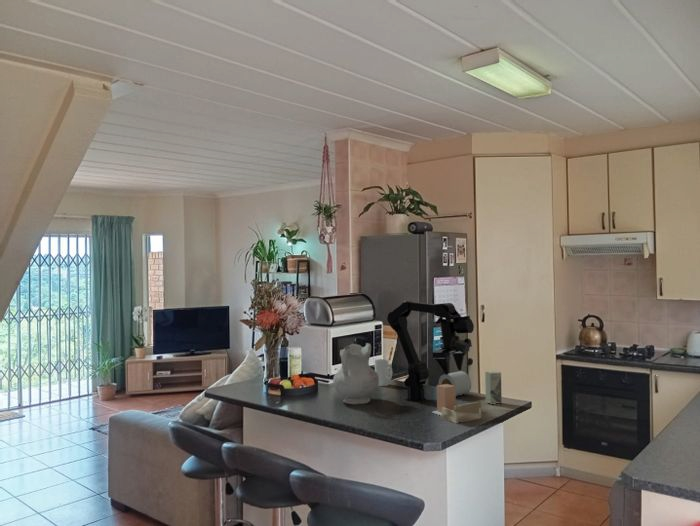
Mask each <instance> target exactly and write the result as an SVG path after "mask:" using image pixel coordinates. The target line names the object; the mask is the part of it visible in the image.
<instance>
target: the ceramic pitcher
mask: <svg viewBox="0 0 700 526" xmlns="http://www.w3.org/2000/svg"><path fill="white" fill-rule="evenodd" d="M371 354H372V345H371V343H370V342H369V343H368V342H365V346H361V344H356V343H351V344H349V345H346V346H345V347H344V348H343V349H340V350H339V356H340V359H341V367H340V369H339V370H337V372H336V373H335V374H334V375H333V378H332V379H333V380H332V382H333V387H334V389H335V390H336V392H337V394H338V395H340V396H342V397H344V399H343V402H344V403H345V404H347V403H348V405H349V404H350V405H361V404H363V405H364V404H368V403H369V402H371V400H372V399H371V398H370V396H372V395H373V394H375V393H376V391H378V390H377V389H378V387H379V386H378V385H379V377H378V374H377V372H376V371H375V369H373V368H372V367H371V366H370V363H369V362H370V357H371Z"/></svg>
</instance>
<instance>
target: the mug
mask: <svg viewBox="0 0 700 526" xmlns="http://www.w3.org/2000/svg"><path fill="white" fill-rule="evenodd" d="M374 371H376V372H377V374H378V377H379V385H378V387H387V386H389V385H390V383H389V381H391V380H392V377H393V368H392V363H389V359H386V358H378V359H374ZM389 371H390V373H389Z"/></svg>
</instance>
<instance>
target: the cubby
mask: <svg viewBox="0 0 700 526" xmlns="http://www.w3.org/2000/svg"><path fill="white" fill-rule="evenodd" d="M441 419H442V420H444V419H446V420H445V421H447V420H449V421H448V422H450V421H452V422H451V423H453V422H454V424H460V423H459V422H461V423H465V421H466V422H469V421H475V420H480V419H482V402H481V401H479V400H478V401H474V402H469V403H468V402H467V403H463V404H458V405H456V406H454V410H450V409H447V408H444V407H443V408H442V416H441Z"/></svg>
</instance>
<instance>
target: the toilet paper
mask: <svg viewBox="0 0 700 526" xmlns="http://www.w3.org/2000/svg"><path fill="white" fill-rule="evenodd" d="M443 384H449V385H453V386H455V396H456V397H458V395H459V396H463V394H464V395H467V394H468V393H470V391H471V390H472V379H471V378H470V376H469V374H468V373H466V372H465V371H462V370H459V371H455V372H448V375H446V374H445V373H443V374H442V375H440V376H439V378H438V384H437V385H443Z"/></svg>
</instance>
